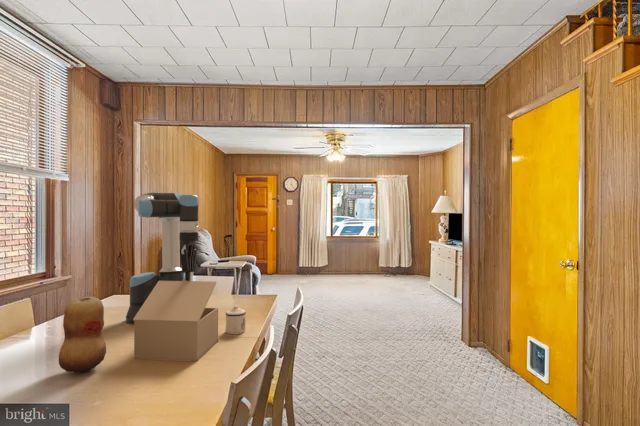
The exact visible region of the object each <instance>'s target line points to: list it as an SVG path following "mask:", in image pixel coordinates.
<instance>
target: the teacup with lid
mask: <svg viewBox="0 0 640 426" xmlns="http://www.w3.org/2000/svg"><path fill="white" fill-rule="evenodd" d="M232 307H233V308H231V309H228V310H227V311H225V314H224V315H225V332H226V334H228V335H240V334H243V333H245V331H246V313H247V312H246V310H245V309H242V308H241V307H239V306H238V305H233V306H232Z"/></svg>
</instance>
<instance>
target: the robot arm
mask: <svg viewBox="0 0 640 426" xmlns="http://www.w3.org/2000/svg"><path fill="white" fill-rule="evenodd" d="M133 206H134V209H135V210H136V211H137V214H138V217H140V218H149V219H150V218H158V219H159V220H160V221H161V230H162V231H161V236H162V237H161V239H162V240H161V242H162V243H161V244H162V245H161V246H162V247H161V248H162V249H161V251H162V253H161V255H162V256H161V257H162V259H161V261H162V268H161V269H160V270H159V271H158V273H159V274H156V272H155V271H154V272H153V271H149V272H141V273H138V274H135V275H132V276H130V279H129V307H128V309H127V313H126V315H125V323H126V324H129V325H130V324H131V325H134V321H133V319H134V317H135V316H136V314H137V313H138V311H139V310H140V308H141V307H142V305H143V304H144V302H145V301H146V299H147V298H148V296H149V295H150V293H151V292H152V290H153V289H154V287H155V286H156V284H157V283H158V281H194V280H193V278H194V274H193V272H195V271H196V270H195V269H196V265H197V251H198V246H196V242H197V241H199V232H198V231H199V226H200V223H199V196H198V195H196V194H181V193H176V192H147V193H144V194H143V193H142V194H140V195H139V196H137V197H136V198H135V200H134V204H133ZM180 242H182V246H181V243H180ZM180 246H181V247H182V249H181V247H180Z"/></svg>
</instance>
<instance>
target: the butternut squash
mask: <svg viewBox="0 0 640 426" xmlns="http://www.w3.org/2000/svg"><path fill="white" fill-rule="evenodd" d="M104 313H105V308H104V305H103V302H102V300H100V299H99V298H98V297H95V296H81V297H76V298H74V299H72V300H71V301H69V302H68V303H67V304H66V306H65V309H64V313H63V314H64V315H63V321H62V327H63V332H64V334H63V335H64V340H63V343H62V345H61V348H60V350H59V352H58V365H59V367H60V368H61V369H62V370H64V371H65V372H67V373H75V374H76V373H79V374H83V373H87V372H90V371H92V370H93V369H95V368H96V367H97V366H98V365H100V364H101V363H102V362H103V361H104V360H105V356H106V354H107V344H106V341H105V338H104V334H103V328H104V325H105V320H104Z"/></svg>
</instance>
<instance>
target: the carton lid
mask: <svg viewBox="0 0 640 426" xmlns="http://www.w3.org/2000/svg"><path fill="white" fill-rule="evenodd" d="M216 285H217V281H208V280H207V281H202V280H201V281H197V280H196V281H194V280H193V281H158V283H157V284H156V286H155V287H154V289H153V290H152V292H151V293H150V295H149V296H148V298H147V299H146V301H145V302H144V304H143V305H142V307H141V308H140V310H139V311H138V313H137V314H136V316H135V317H134V319H133V321H149V322H189V323H198V322H199V320H200V318H201V316H202V313H203V311H204V309H205V308H207V305H208V302H209V300H210V298H211V296H212V295H213V291H214V289H215V287H216Z"/></svg>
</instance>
